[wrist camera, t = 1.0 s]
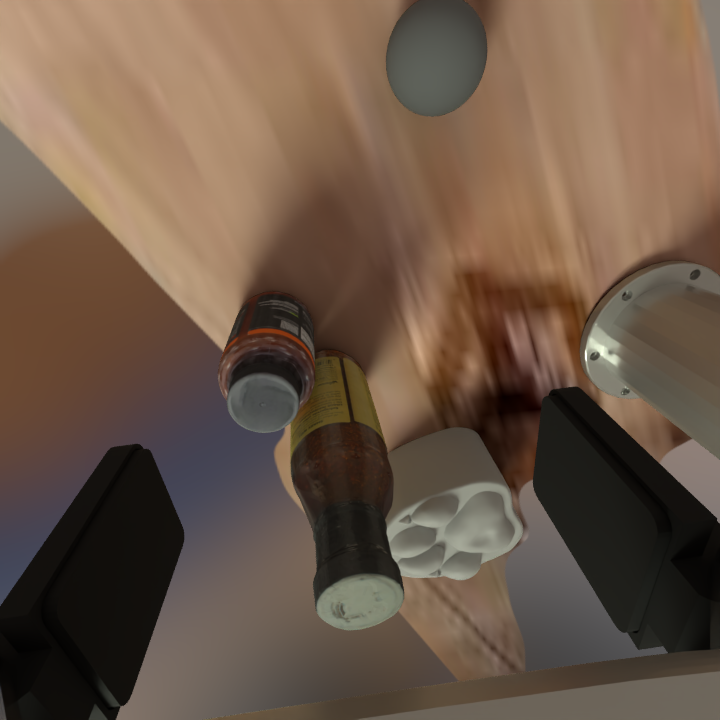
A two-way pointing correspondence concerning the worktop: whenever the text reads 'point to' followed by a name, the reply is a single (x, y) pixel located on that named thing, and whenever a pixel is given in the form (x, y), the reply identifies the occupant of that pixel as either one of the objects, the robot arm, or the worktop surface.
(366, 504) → the sauce bottle
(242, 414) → the supplement bottle
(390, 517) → the white hollowed block
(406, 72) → the grey-green ball
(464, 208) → the worktop surface
